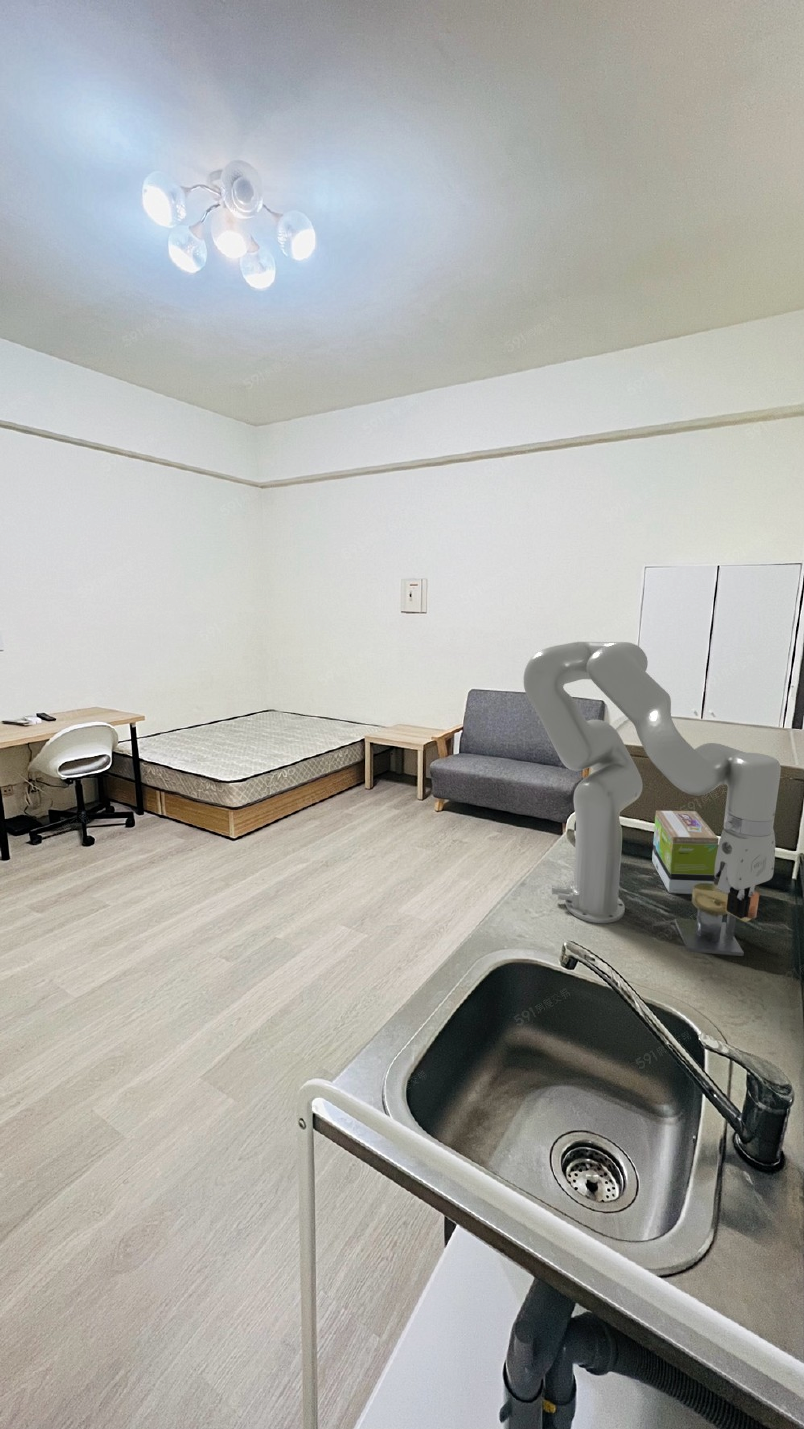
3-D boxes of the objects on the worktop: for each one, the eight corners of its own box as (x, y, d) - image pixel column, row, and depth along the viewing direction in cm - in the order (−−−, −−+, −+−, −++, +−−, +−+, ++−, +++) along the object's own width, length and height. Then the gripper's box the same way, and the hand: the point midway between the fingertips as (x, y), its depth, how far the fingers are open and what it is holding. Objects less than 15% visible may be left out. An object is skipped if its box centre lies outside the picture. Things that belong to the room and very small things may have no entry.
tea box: (650, 862, 149) (654, 808, 145) (691, 863, 147) (697, 809, 144) (667, 894, 134) (673, 835, 131) (714, 896, 133) (721, 837, 129)
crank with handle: (684, 901, 118) (687, 871, 116) (706, 891, 121) (709, 863, 119) (742, 933, 107) (746, 901, 106) (765, 922, 110) (769, 890, 109)
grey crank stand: (687, 951, 114) (692, 909, 112) (674, 921, 124) (678, 882, 122) (744, 956, 112) (750, 913, 110) (726, 925, 122) (731, 886, 120)
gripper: (737, 839, 97) (726, 935, 102) (797, 822, 103) (783, 914, 107) (699, 822, 104) (690, 913, 108) (757, 807, 109) (746, 894, 114)
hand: (736, 913), depth 108 cm, fingers closed
